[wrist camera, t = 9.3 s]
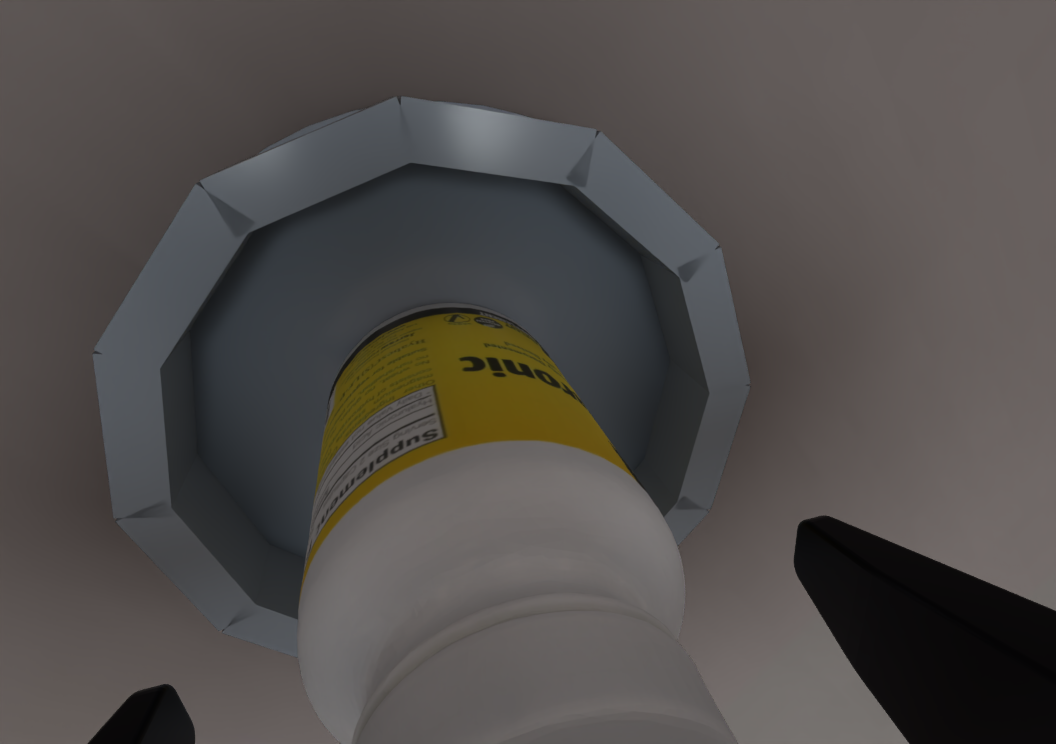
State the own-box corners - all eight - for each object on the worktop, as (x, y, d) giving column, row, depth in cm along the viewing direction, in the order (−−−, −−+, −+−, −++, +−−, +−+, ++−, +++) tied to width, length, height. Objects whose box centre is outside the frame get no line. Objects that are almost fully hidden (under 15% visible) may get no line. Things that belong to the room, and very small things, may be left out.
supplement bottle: (597, 401, 15) (891, 796, 7) (439, 533, 16) (522, 1059, 7) (456, 243, 13) (630, 542, 4) (275, 406, 13) (100, 967, 5)
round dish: (492, 648, 19) (511, 730, 17) (35, 469, 14) (-40, 552, 11) (779, 323, 17) (851, 363, 14) (365, -59, 11) (363, -105, 9)
